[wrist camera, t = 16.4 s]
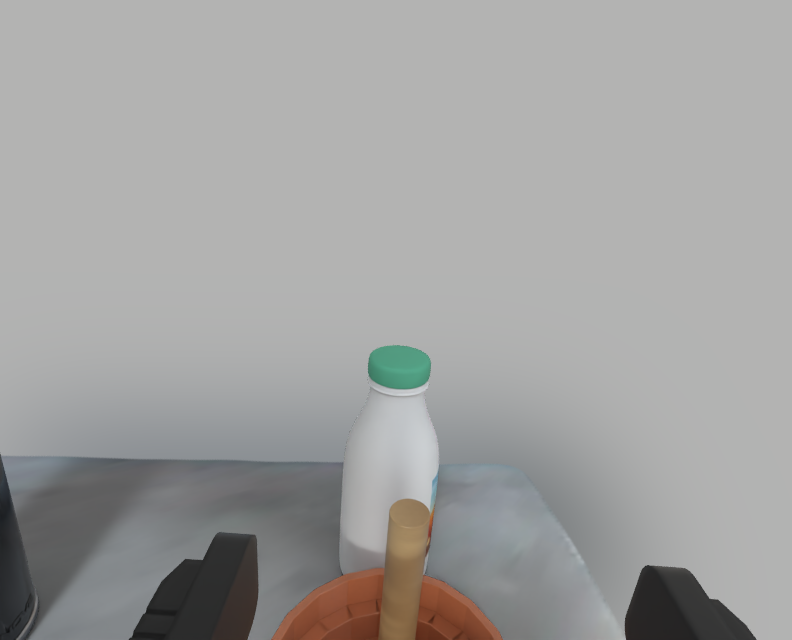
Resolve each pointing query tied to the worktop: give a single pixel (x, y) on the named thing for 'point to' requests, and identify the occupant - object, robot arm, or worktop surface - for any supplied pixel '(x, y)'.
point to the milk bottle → (387, 456)
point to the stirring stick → (403, 569)
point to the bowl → (361, 607)
